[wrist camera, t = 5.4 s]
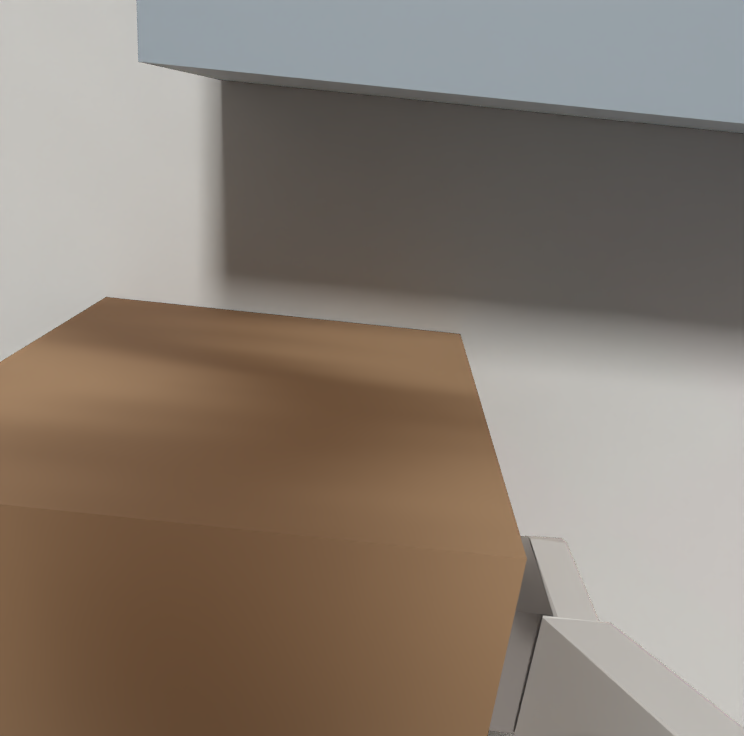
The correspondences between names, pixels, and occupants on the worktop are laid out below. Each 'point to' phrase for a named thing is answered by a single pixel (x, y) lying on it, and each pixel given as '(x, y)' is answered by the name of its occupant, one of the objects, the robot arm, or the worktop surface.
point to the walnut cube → (249, 529)
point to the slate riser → (473, 52)
